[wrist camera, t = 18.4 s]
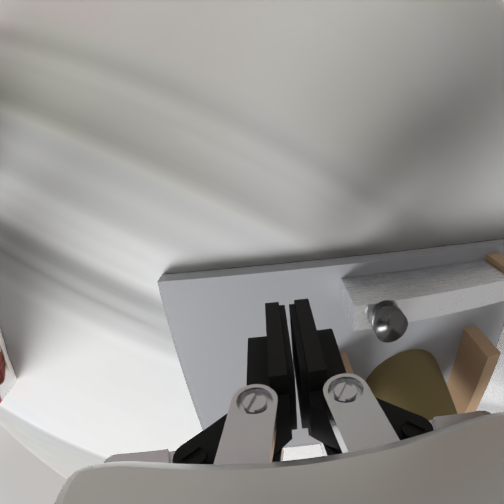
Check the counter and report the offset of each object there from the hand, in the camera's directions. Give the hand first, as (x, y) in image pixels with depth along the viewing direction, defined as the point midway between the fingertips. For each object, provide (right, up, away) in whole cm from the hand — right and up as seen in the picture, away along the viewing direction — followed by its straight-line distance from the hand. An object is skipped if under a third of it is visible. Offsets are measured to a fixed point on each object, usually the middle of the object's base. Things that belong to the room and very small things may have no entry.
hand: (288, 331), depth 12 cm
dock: (+6, -5, +8) cm, 11 cm away
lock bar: (+8, +2, +5) cm, 10 cm away
